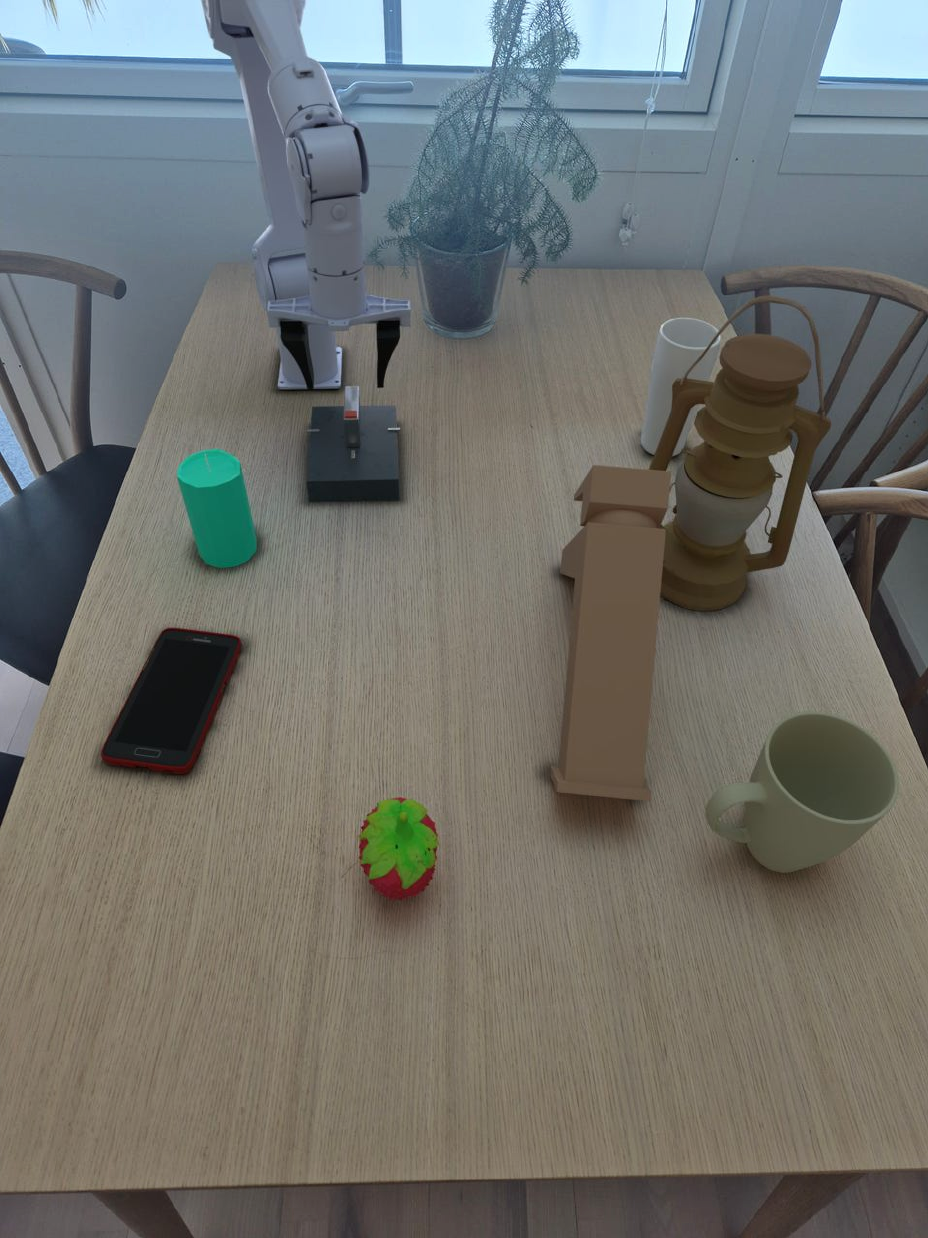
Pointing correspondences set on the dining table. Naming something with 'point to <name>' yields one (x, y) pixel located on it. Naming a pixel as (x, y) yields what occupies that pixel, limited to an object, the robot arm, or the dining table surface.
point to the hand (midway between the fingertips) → (345, 383)
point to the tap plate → (353, 456)
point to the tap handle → (352, 416)
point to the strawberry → (398, 848)
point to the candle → (218, 507)
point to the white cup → (676, 374)
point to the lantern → (736, 463)
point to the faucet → (612, 632)
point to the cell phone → (173, 701)
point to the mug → (809, 792)
